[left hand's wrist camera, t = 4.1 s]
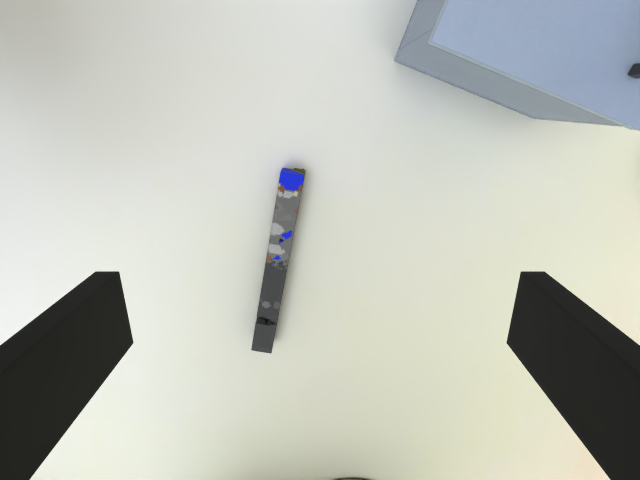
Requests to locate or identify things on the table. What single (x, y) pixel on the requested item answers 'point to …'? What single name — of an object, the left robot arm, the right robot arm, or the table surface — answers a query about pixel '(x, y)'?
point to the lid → (554, 48)
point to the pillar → (277, 257)
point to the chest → (479, 73)
